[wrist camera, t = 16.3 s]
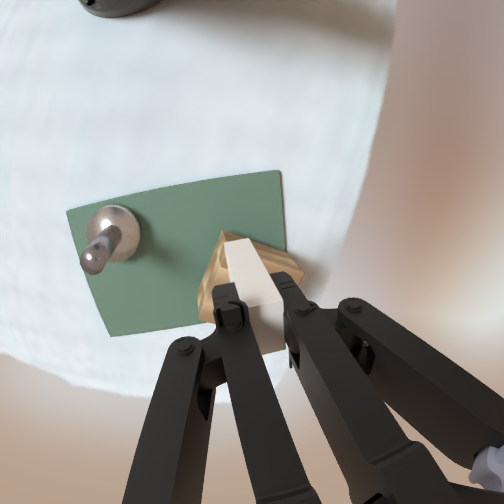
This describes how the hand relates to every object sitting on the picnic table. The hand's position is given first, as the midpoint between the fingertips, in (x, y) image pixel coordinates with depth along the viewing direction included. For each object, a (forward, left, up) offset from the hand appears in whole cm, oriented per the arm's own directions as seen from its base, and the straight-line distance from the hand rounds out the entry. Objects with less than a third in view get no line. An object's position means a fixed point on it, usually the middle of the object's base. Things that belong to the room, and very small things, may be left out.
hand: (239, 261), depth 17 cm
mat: (+7, -5, -19) cm, 21 cm away
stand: (+1, -13, -18) cm, 23 cm away
